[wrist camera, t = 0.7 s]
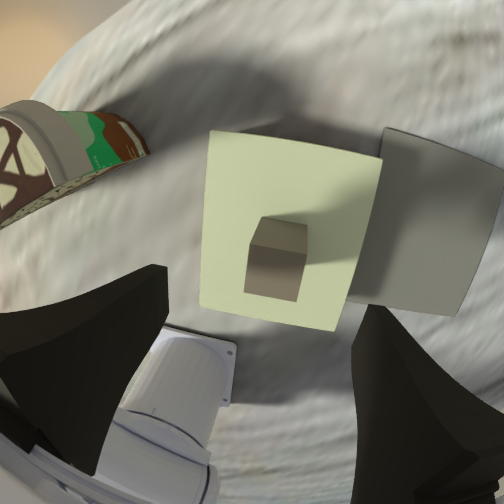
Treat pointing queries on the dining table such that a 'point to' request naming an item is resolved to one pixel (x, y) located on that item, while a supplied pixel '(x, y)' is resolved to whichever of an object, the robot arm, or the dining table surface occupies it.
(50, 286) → the dining table surface
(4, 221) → the food container
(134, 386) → the robot arm
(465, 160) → the mat
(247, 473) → the dining table surface
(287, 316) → the lid
